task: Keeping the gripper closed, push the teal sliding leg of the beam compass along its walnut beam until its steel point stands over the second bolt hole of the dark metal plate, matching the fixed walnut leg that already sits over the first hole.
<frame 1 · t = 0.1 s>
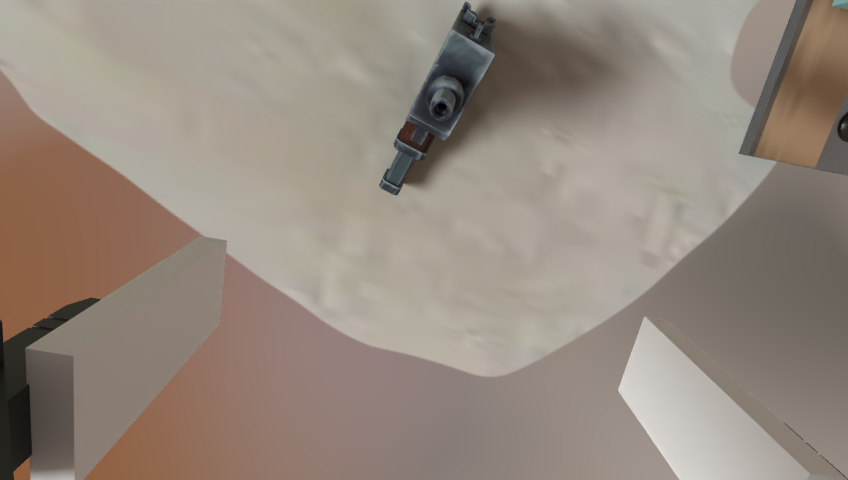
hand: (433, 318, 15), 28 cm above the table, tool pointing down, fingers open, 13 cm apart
gun: (431, 104, 40), on the table
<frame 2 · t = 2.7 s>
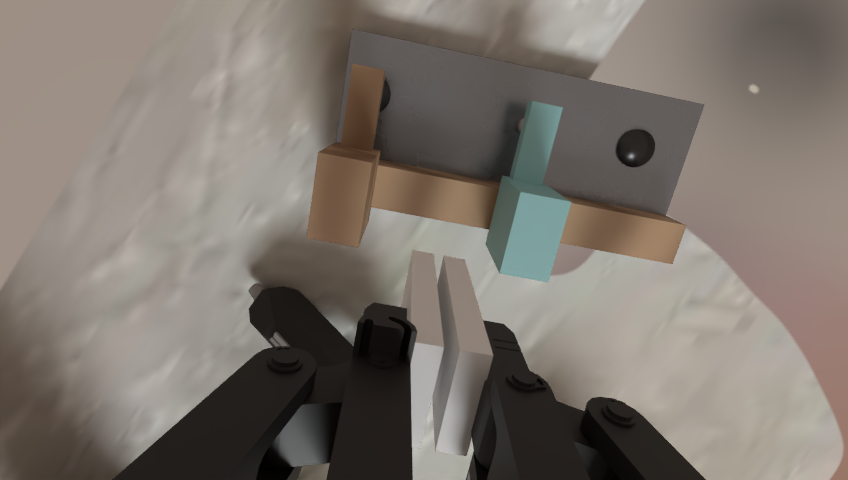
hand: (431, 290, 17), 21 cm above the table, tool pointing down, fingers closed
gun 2: (334, 330, 41), on the table
bolt plate: (509, 149, 37), on the table
sliding leg: (528, 182, 32), point 6 cm above the table, slide at 0.0 cm
beam: (520, 180, 32), on the bolt plate, point 6 cm above the table
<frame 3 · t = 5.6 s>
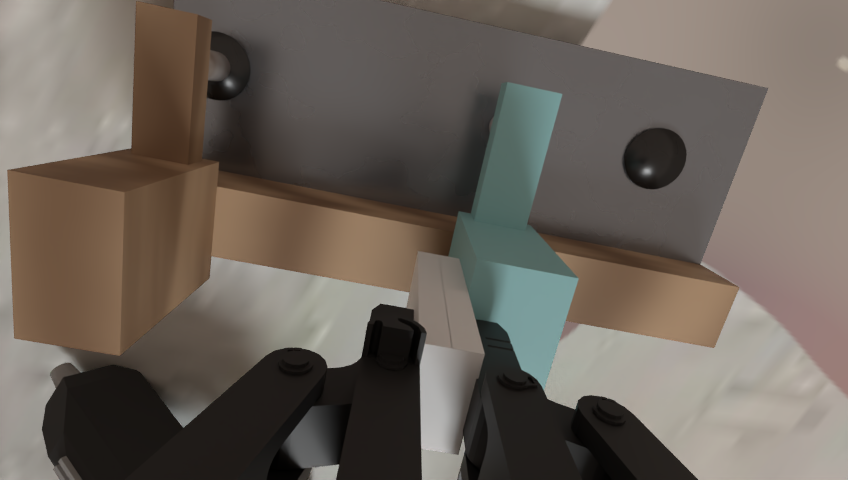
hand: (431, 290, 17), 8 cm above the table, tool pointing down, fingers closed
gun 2: (200, 425, 28), on the table
bolt plate: (453, 159, 23), on the table
sliding leg: (501, 225, 18), point 6 cm above the table, slide at 1.2 cm, touching gripper
beam: (456, 216, 18), on the bolt plate, point 6 cm above the table
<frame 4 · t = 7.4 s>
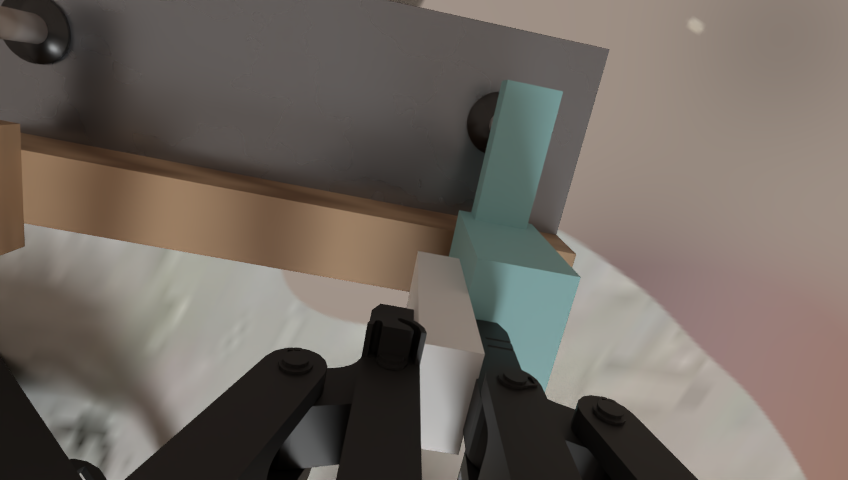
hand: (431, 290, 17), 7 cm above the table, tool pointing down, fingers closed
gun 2: (66, 406, 27), on the table
bolt plate: (298, 127, 23), on the table
sliding leg: (501, 224, 18), point 6 cm above the table, slide at 8.7 cm, touching gripper
beam: (255, 177, 17), on the bolt plate, point 6 cm above the table
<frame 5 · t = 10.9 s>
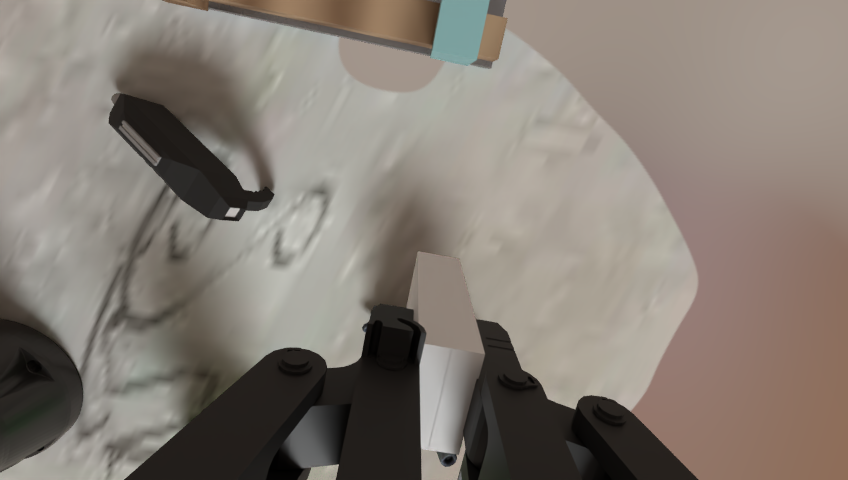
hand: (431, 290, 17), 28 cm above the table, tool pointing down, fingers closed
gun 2: (202, 149, 44), on the table
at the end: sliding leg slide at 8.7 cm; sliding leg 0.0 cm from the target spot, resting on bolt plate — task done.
